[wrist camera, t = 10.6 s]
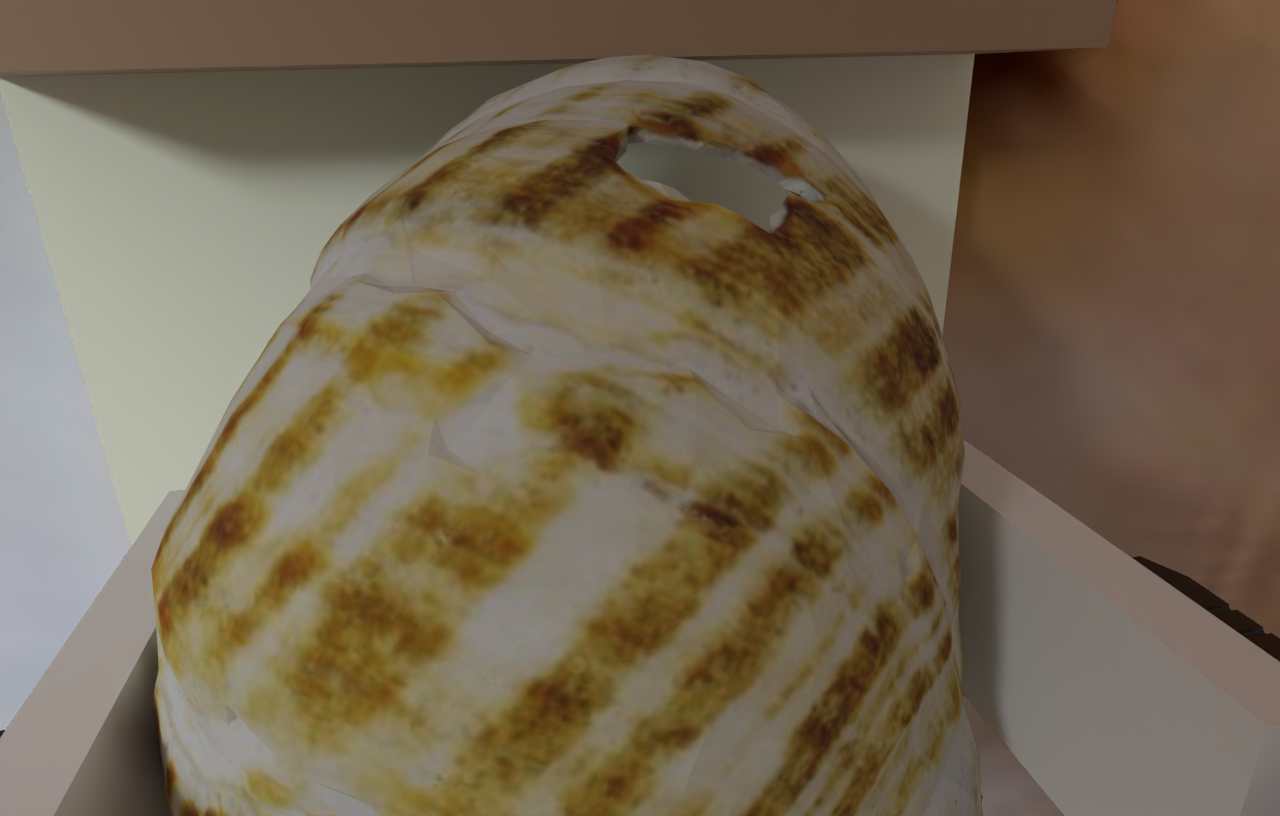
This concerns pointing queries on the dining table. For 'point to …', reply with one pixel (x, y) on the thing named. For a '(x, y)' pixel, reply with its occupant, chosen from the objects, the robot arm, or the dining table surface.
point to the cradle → (408, 151)
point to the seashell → (582, 493)
